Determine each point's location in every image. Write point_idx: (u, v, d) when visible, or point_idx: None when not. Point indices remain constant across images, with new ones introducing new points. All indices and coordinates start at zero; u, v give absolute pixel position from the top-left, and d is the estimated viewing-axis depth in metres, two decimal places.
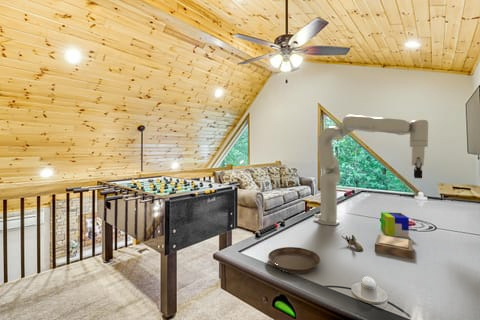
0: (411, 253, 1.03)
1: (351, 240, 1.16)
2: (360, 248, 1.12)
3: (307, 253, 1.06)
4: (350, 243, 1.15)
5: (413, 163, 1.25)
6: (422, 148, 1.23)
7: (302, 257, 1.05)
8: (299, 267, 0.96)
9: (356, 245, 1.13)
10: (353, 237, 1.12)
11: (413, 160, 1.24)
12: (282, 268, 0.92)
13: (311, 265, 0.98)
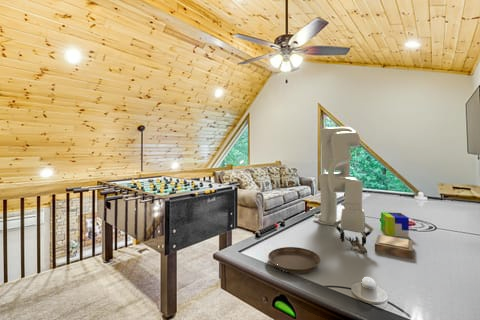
0: (411, 253, 1.03)
1: (355, 242, 1.14)
2: (364, 250, 1.10)
3: (307, 253, 1.06)
4: (354, 245, 1.13)
5: (364, 229, 1.10)
6: None
7: (302, 257, 1.05)
8: (299, 267, 0.96)
9: (360, 247, 1.11)
10: (357, 239, 1.11)
11: (364, 226, 1.10)
12: (282, 268, 0.92)
13: (311, 265, 0.98)
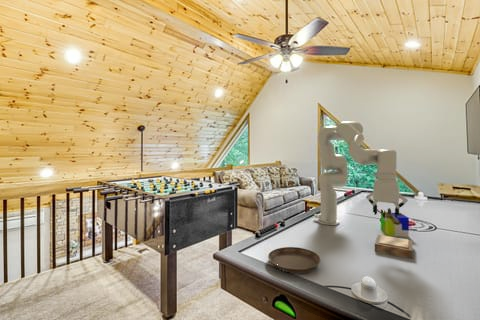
0: (411, 253, 1.03)
1: (387, 213, 1.12)
2: (397, 221, 1.08)
3: (307, 253, 1.06)
4: (386, 216, 1.11)
5: (398, 200, 1.08)
6: None
7: (302, 257, 1.05)
8: (299, 267, 0.96)
9: (393, 218, 1.09)
10: (390, 209, 1.08)
11: (398, 196, 1.08)
12: (282, 268, 0.92)
13: (311, 265, 0.98)
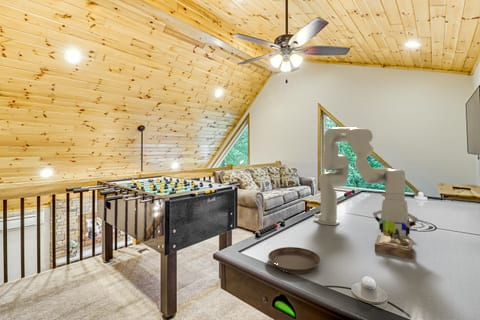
0: (411, 253, 1.03)
1: (395, 234, 1.12)
2: (405, 242, 1.08)
3: (307, 253, 1.06)
4: (394, 237, 1.11)
5: None
6: None
7: (302, 257, 1.05)
8: (299, 267, 0.96)
9: (401, 239, 1.09)
10: (398, 231, 1.08)
11: (407, 217, 1.08)
12: (282, 268, 0.92)
13: (311, 265, 0.98)
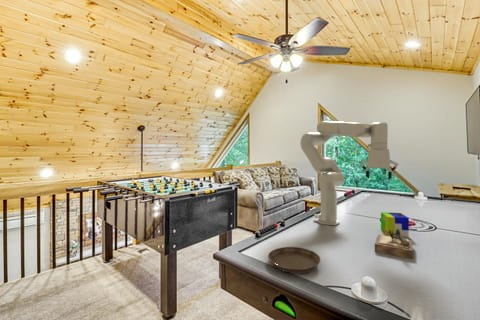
0: (411, 253, 1.03)
1: (396, 234, 1.11)
2: (406, 242, 1.08)
3: (307, 253, 1.06)
4: (395, 237, 1.11)
5: (389, 165, 1.24)
6: None
7: (302, 257, 1.05)
8: (299, 267, 0.96)
9: (402, 239, 1.09)
10: (399, 231, 1.08)
11: (389, 162, 1.24)
12: (282, 268, 0.92)
13: (311, 265, 0.98)
